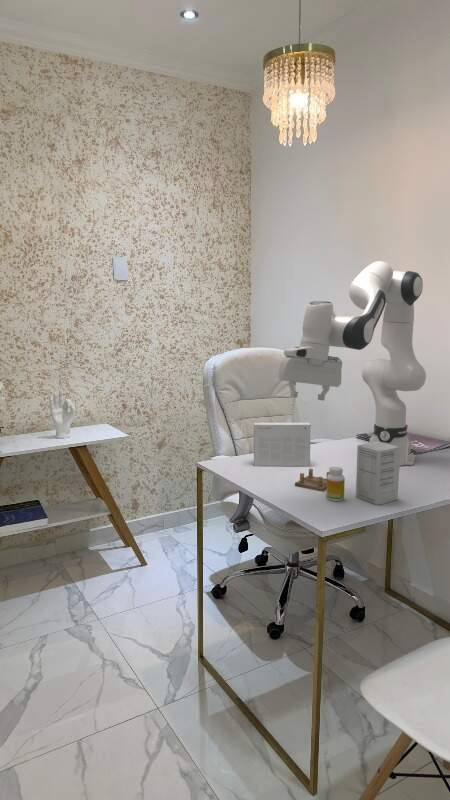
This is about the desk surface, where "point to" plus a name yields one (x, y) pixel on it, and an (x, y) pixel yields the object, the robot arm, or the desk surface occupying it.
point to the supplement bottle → (335, 484)
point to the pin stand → (312, 481)
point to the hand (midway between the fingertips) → (307, 398)
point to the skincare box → (282, 444)
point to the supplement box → (377, 472)
